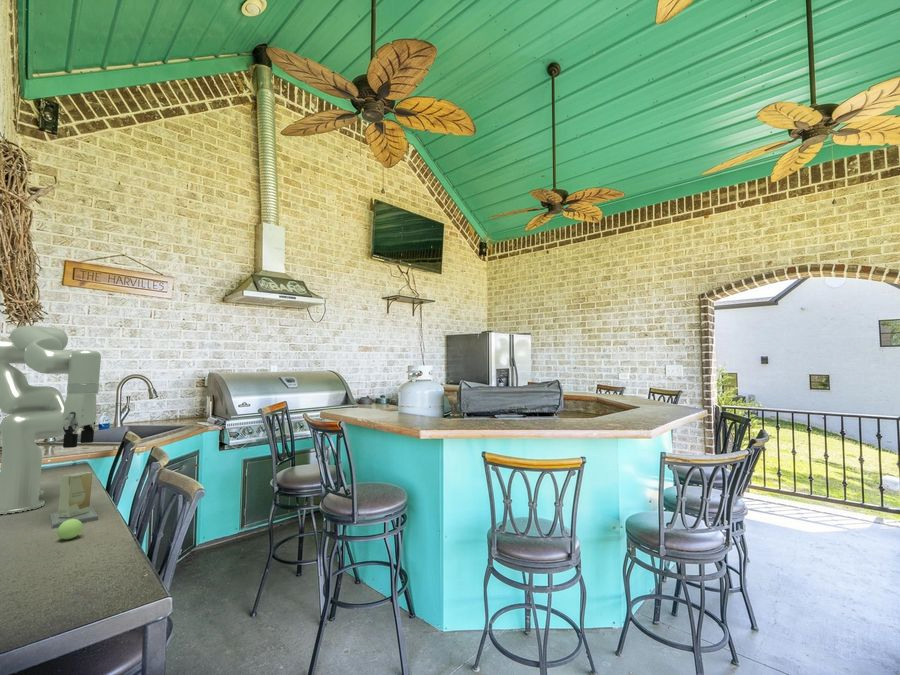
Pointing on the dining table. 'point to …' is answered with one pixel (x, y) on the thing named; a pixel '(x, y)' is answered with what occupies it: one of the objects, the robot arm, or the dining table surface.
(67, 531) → the lime
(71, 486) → the skincare box
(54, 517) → the metal tray
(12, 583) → the dining table surface
